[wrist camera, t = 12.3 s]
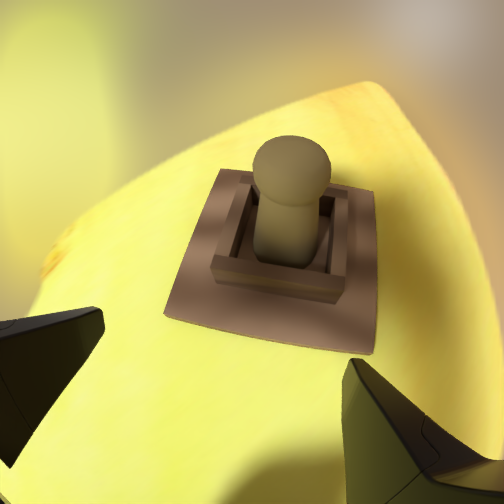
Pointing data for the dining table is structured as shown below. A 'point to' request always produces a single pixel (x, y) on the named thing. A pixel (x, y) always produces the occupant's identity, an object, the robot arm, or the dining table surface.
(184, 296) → the holder board
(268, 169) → the cork
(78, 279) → the dining table surface
